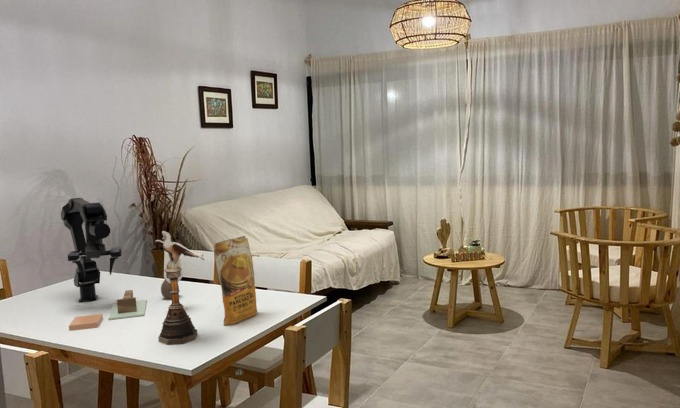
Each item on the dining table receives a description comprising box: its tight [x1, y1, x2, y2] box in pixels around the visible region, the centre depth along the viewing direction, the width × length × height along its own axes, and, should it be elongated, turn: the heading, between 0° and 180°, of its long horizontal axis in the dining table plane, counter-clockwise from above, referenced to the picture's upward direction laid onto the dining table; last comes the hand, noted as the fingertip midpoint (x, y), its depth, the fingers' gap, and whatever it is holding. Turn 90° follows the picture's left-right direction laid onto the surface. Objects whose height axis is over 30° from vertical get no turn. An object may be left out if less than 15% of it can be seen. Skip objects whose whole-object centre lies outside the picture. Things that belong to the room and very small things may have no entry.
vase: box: [160, 278, 180, 300], centre depth 222 cm, size 7×7×9 cm
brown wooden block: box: [116, 289, 137, 314], centre depth 209 cm, size 13×6×5 cm, turn 16°
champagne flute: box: [163, 249, 186, 313], centre depth 205 cm, size 7×7×24 cm
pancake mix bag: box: [213, 235, 258, 326], centre depth 191 cm, size 7×19×28 cm, turn 146°
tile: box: [68, 313, 104, 331], centre depth 193 cm, size 2×9×10 cm
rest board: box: [108, 299, 148, 321], centre depth 208 cm, size 20×12×1 cm, turn 17°
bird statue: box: [154, 230, 205, 346], centre depth 176 cm, size 17×13×35 cm
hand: (97, 276), depth 213 cm, fingers open, 9 cm apart
